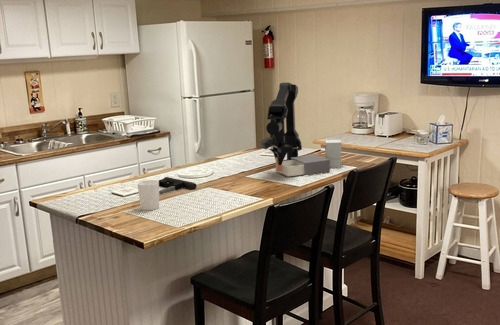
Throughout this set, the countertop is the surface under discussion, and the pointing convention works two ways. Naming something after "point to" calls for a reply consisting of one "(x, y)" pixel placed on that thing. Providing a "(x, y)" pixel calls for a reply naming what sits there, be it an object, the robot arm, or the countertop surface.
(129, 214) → the countertop surface
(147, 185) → the white cup
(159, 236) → the countertop surface
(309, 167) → the mailer sleeve
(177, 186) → the black handgun
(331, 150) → the supplement box
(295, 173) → the tray
